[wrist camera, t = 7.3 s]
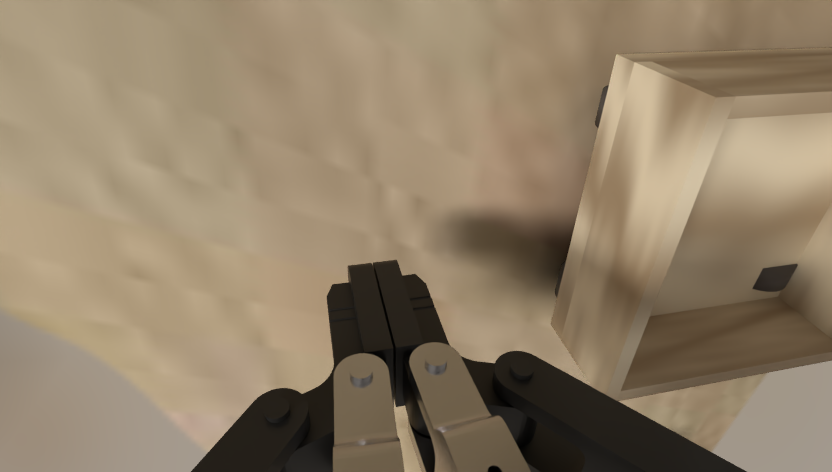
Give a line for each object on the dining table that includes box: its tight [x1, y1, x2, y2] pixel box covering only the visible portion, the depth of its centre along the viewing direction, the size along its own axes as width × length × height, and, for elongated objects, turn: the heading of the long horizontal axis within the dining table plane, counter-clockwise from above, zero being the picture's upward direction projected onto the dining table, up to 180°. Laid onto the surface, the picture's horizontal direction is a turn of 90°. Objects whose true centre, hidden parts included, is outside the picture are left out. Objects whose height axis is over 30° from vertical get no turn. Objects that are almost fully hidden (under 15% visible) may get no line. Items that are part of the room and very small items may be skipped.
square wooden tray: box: [551, 48, 832, 401], centre depth 19 cm, size 12×12×6 cm
